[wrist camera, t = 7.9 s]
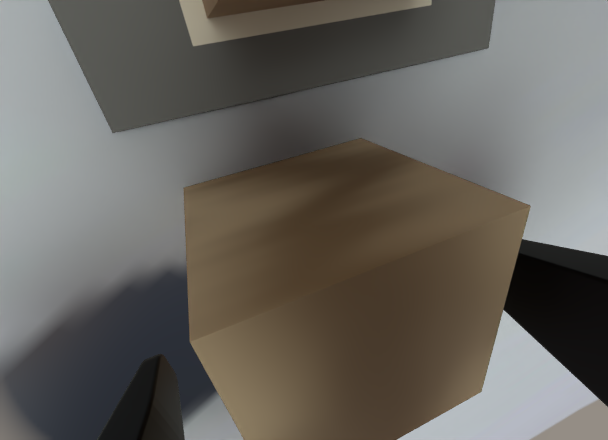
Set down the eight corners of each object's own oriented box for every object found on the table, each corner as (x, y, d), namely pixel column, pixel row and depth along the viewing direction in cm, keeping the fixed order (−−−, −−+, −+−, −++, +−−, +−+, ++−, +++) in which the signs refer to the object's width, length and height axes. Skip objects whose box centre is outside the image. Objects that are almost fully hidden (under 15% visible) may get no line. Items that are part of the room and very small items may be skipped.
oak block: (359, 137, 10) (530, 205, 5) (368, 269, 13) (481, 392, 8) (183, 186, 9) (190, 342, 4) (237, 321, 12) (280, 505, 7)
